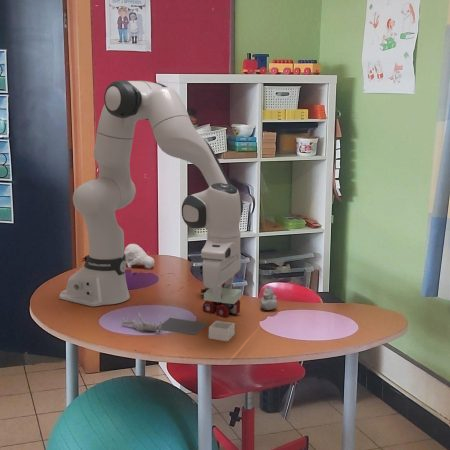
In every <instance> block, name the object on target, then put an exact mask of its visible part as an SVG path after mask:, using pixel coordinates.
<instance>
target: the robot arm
mask: <svg viewBox="0 0 450 450" xmlns="http://www.w3.org/2000/svg"><path fill="white" fill-rule="evenodd" d="M103 98H104V99H103V102H104V105H103V106H102V110H101V114H100V116H99V118H98V119H99V120H98V124H97V130H96V135H95V143H94V150H93V159H94V160H95V161H96V162H97V165H98V177H97V178H95V179H90V180H87V181H85V182H84V183H82V184H80V185H79V186H78V187H76V188H75V190H74V191H73V195H72V202H73V203H72V204H73V206H74V209H75V210H76V211H77V212H78V213H79V214H80V215H81V216H82V218H83V221H84V222H85V223H84V224H85V226H86V231H87V239H88V240H87V241H88V255H85V256H84V257H83V258H81V263H84V265H83V266H82V267H81V268H79V269H78V270H77V271H76V272H75V273H73V274H71V276H70V277H69V278H68V280H67V283H66V289H64V290H62V291H61V292H60V294H59V296H58V297H59V299H61V300H64V301H68V302H72V303H76V304H81V305H85V306H88V307H94V308H95V307H99V306H106V305H108V306H109V305H115V304H116V305H118V304H120V303H125V302H126V301H128V300H129V299H130V298H131V295H130V292H129V289H128V284H127V279H126V272H127V271H126V270H127V264H126V256H125V254H124V252H125V232H124V230H123V228H122V227H121V226H119V223H118V221H117V216H116V211H117V210H121V209H124V208H125V207H127V206H128V205H129V204H131V203H132V202H133V200H134V199H135V196H136V193H137V190H136V186H135V183H134V182H133V180H132V177H131V176H132V175H131V169H130V168H131V166H130V163H131V155H132V149H133V148H132V146H133V144H134V143H133V142H134V137H135V128H136V124H137V122H138V121H140V120H146V121H148V122H149V124H150V127H151V130H152V133H153V137H154V139H155V142H156V143H157V146H158V147H159V148H160V150H161V151H162V152H163V153H165V154H166V155H168V156H170V157H173V158H175V159H180V160H183V161H186V162H187V163H190V164H192V165H194V166H196V167H197V169H199V171H200V172H201V175H202V176H203V177H204V179H205V182H206V184H207V185H208V188H207V189H205V190H203V191H200V192H199V191H198V192H197V193H193V194H190V195H187V196H186V197H185V198H184V199H183V201H182V204H181V217H182V219H183V222H184V223H185V225H187V226H188V227H189V228H191V229H197V230H198V229H206V231H207V233H206V241H205V244H204V246H203V247H202V249H201V252H200V256H201V258H202V259H203V260H202V265H203V275H202V276H203V282H202V284H203V286H204V288H212V290H213V293H214V300H218V301H219V300H221V299H222V293H221V289H220V288H221V285H222V284H223V283H225V285H224V288H230V289H232V284H234V278H235V275H236V274H237V273H238V272H239V271H241V268H242V255H241V253H242V252H241V231H240V224H241V223H240V222H241V219H242V215H243V213H244V203H243V199H242V197H241V195H240V192H239V190H238V188H237V187H236V186H234V185H233V184H232V183H231V181H230V179H229V178H228V176H227V174H226V172H225V170H224V168H223V166H222V164H221V163H220V160H219V159H218V157H217V155H216V153H215V151H214V149H213V148H212V146H211V145H210V144H209V142H207V141H206V139H204V138H203V137H202V136H201V135H200V133H199V132H198V130H197V129H196V128H195V126H194V124H193V122H192V121H191V117H190V115H189V112H188V111H187V108H186V107H185V104H184V102H183V100H182V99H181V97H180V96H179V93H178V92H177V91H176V90H175V89H173V88H172V87H168V86H167V85H165V84H163V83H160V82H152V81H146V80H124V79H121V80H120V79H119V80H116V81H115V80H114V81H112V82H111V83H110V84H108V85H107V87H106V89H105V91H104V96H103Z"/></svg>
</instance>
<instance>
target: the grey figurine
mask: <svg viewBox="0 0 450 450" xmlns="http://www.w3.org/2000/svg"><path fill="white" fill-rule="evenodd" d="M277 298H278V297H277V295H276V294H275V295H274V290H273V289H272V288H271V287H269V285H267V286H266V287H265V288H264V290H263V295H262V297H261V298H260V299H259V300H260V301H259V305H260V308H261V309H263V311H264V310H265V311H271V310H273V309H275V308H276V307H278V299H277Z"/></svg>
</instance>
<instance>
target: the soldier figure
mask: <svg viewBox="0 0 450 450" xmlns="http://www.w3.org/2000/svg"><path fill="white" fill-rule="evenodd" d="M137 315H138V317H139V320H140V322H141V323H138V322H137V321H136V320H135V319H131V320H126V317H123V318H122V323H121V325H128V326H131V327H134V328H135V329H136V330H137V331H139V332H140V331H141V332H156V331H157V332H159V333H160V332H161V331H162V330H161V329H162V324H163V323H162V321H160V322H157V323H156V324H155V323H152V322H148V321H145V320H144V319H143V317H142V314H141V313H140V312H138V313H137Z"/></svg>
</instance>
